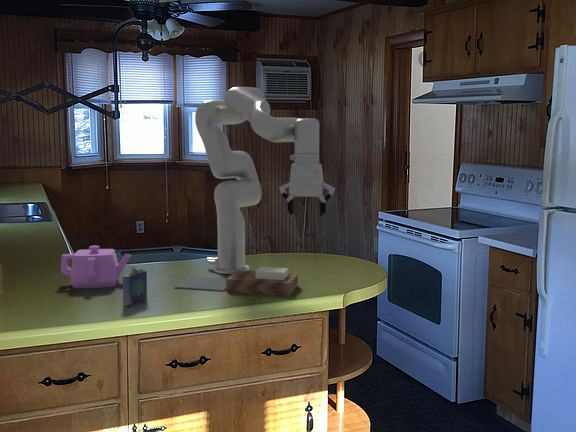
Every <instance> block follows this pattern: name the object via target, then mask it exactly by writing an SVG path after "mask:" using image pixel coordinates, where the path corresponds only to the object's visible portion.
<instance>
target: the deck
mask: <svg viewBox="0 0 576 432" xmlns="http://www.w3.org/2000/svg"><path fill="white" fill-rule="evenodd" d="M298 275H299V274H298V273H290V272H288V276H287V277H286V278H285V279H284V280H272V279H256V270H254V271H253V270H249V271H241V270H238V271H236V272H235V273H234V274H230V275H229V277H227V278H225V279H226V293H242V294H255V295H271V296H282V297H283V296H285V297H290V296H291V295H292V294H293V292H295V290H296V289H297V287H298V284H299V283H298V282H299V281H298V280H299V276H298Z"/></svg>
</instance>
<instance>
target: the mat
mask: <svg viewBox="0 0 576 432" xmlns="http://www.w3.org/2000/svg"><path fill="white" fill-rule="evenodd" d="M226 279H227V278H221V277H219V278H218V277H208V276H207V277H204V276H203V277H202V276H189V277H188V278H186V279H185V280H183V281H182V282H180V283H178V284H177V285H176V286H175V287H174V289H182V290H185V289H186V290H195V291H196V290H198V291H211V292H225V291H227V289H226Z"/></svg>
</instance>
